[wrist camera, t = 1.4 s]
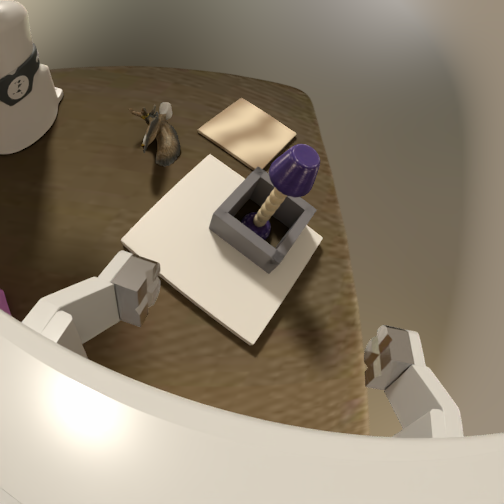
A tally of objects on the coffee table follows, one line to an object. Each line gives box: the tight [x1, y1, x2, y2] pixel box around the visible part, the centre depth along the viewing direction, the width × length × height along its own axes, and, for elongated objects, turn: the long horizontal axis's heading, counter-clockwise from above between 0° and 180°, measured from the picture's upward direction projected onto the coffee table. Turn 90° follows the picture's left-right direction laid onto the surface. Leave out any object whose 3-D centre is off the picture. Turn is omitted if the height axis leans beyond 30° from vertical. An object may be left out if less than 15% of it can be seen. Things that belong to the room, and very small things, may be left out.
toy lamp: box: [241, 144, 320, 240], centre depth 34 cm, size 5×5×17 cm
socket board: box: [121, 154, 323, 345], centre depth 37 cm, size 20×18×6 cm
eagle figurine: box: [129, 102, 180, 167], centre depth 40 cm, size 8×7×9 cm
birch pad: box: [197, 98, 296, 171], centre depth 47 cm, size 12×12×1 cm
